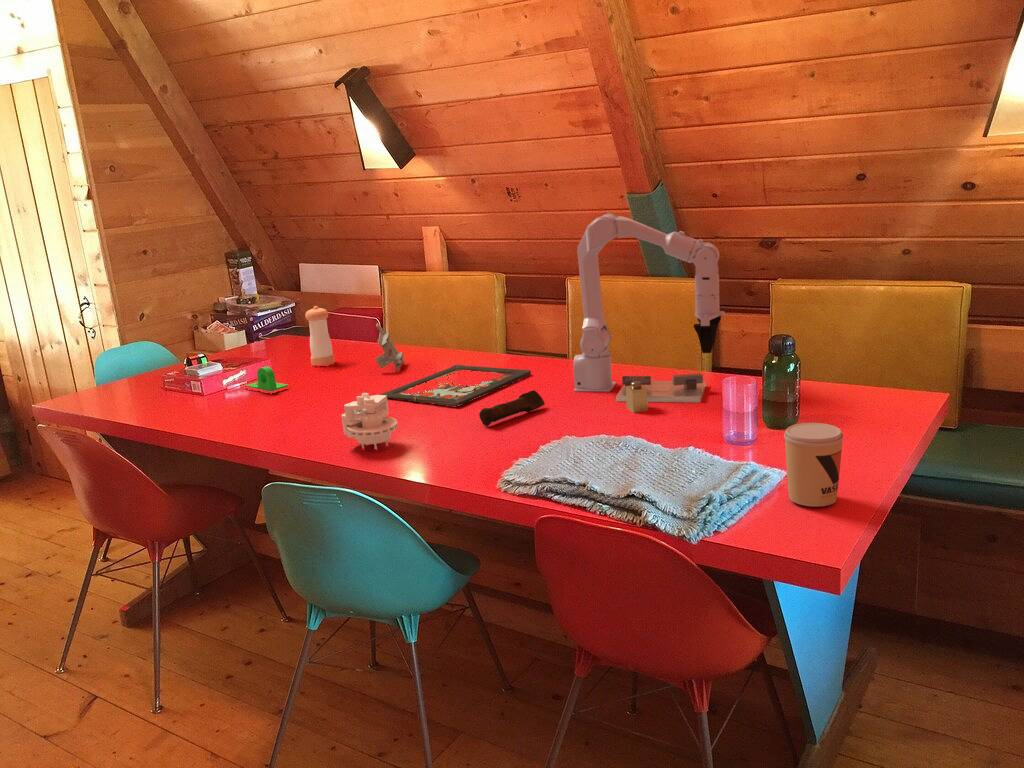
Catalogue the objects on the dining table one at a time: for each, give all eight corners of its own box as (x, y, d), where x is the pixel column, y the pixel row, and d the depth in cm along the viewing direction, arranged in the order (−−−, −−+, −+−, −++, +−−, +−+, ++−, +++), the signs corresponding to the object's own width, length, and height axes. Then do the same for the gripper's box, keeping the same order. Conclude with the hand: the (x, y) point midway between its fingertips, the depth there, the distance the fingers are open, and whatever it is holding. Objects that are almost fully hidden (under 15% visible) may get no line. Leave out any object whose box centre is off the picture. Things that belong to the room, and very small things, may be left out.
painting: (534, 377, 247) (534, 368, 246) (460, 412, 219) (459, 402, 218) (454, 370, 262) (453, 362, 261) (375, 402, 234) (374, 393, 233)
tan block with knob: (633, 413, 205) (632, 385, 204) (626, 408, 210) (625, 381, 208) (647, 410, 206) (646, 383, 205) (641, 406, 210) (639, 379, 209)
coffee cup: (828, 513, 144) (829, 443, 141) (774, 501, 150) (774, 434, 147) (850, 494, 151) (852, 427, 148) (798, 483, 157) (798, 419, 154)
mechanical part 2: (372, 458, 188) (365, 404, 185) (336, 449, 196) (329, 397, 193) (411, 443, 196) (405, 391, 193) (375, 435, 204) (369, 385, 201)
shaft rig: (616, 401, 215) (615, 383, 214) (626, 386, 228) (625, 369, 227) (700, 402, 209) (699, 383, 208) (705, 386, 222) (705, 369, 221)
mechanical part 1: (289, 391, 251) (285, 364, 249) (271, 396, 246) (267, 368, 244) (263, 387, 258) (259, 360, 256) (246, 392, 254) (242, 365, 252)
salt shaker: (313, 365, 280) (305, 305, 275) (336, 363, 281) (328, 303, 276) (310, 370, 273) (302, 309, 268) (334, 368, 274) (326, 307, 269)
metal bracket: (408, 375, 260) (379, 334, 255) (392, 385, 261) (362, 344, 256) (409, 357, 274) (382, 318, 268) (394, 366, 274) (366, 328, 269)
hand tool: (492, 421, 200) (483, 403, 201) (483, 428, 203) (475, 410, 204) (552, 401, 212) (543, 384, 213) (543, 408, 215) (534, 391, 216)
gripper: (722, 299, 206) (722, 356, 209) (726, 288, 219) (726, 342, 223) (691, 299, 208) (692, 356, 212) (697, 289, 222) (698, 342, 225)
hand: (708, 349), depth 217 cm, fingers open, 7 cm apart
